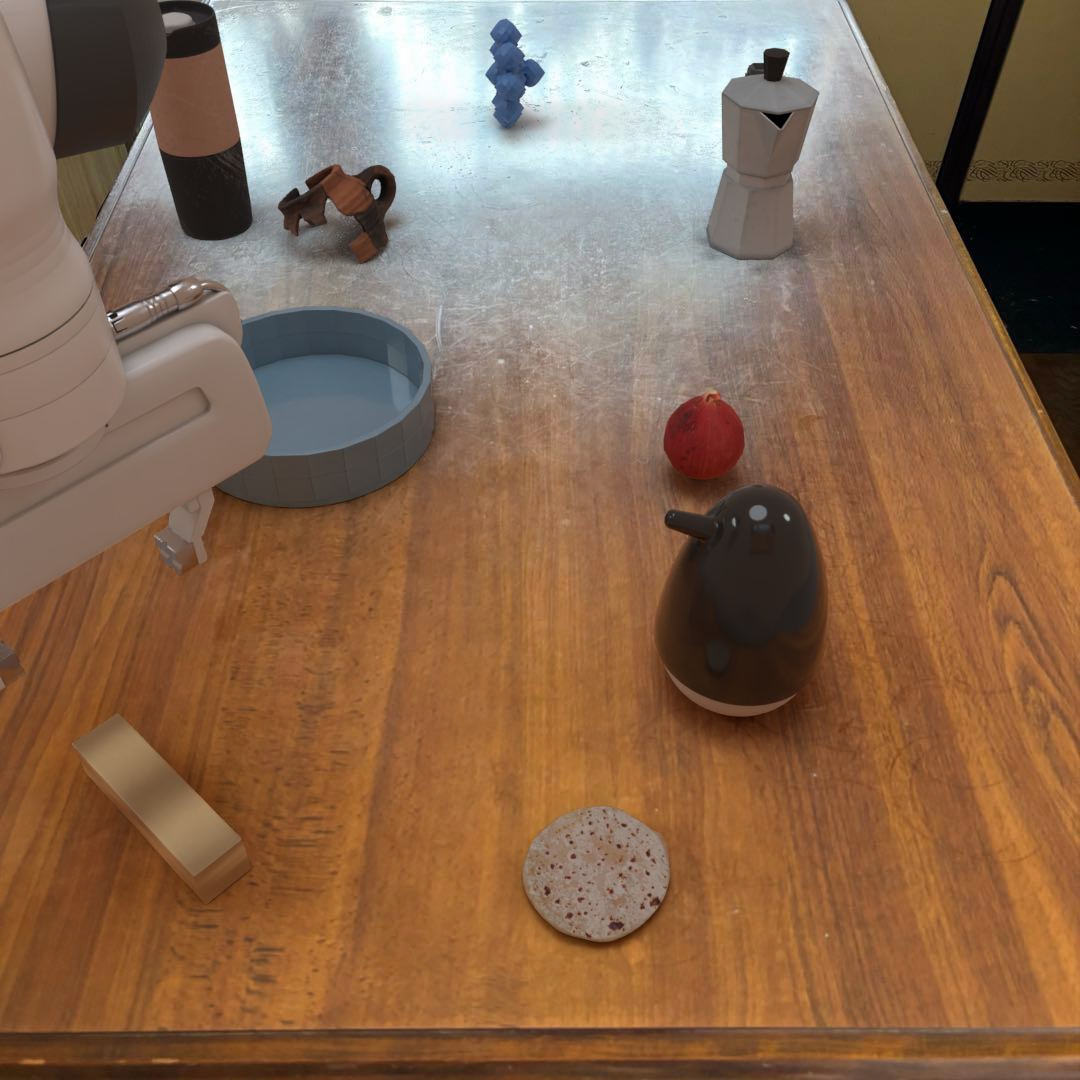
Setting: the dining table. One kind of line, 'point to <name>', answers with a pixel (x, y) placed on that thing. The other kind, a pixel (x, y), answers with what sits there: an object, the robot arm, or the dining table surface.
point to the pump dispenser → (744, 602)
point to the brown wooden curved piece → (345, 204)
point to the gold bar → (163, 808)
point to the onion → (704, 437)
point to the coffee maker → (760, 159)
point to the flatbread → (596, 873)
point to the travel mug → (200, 126)
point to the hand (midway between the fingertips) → (99, 617)
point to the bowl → (334, 405)
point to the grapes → (510, 73)
